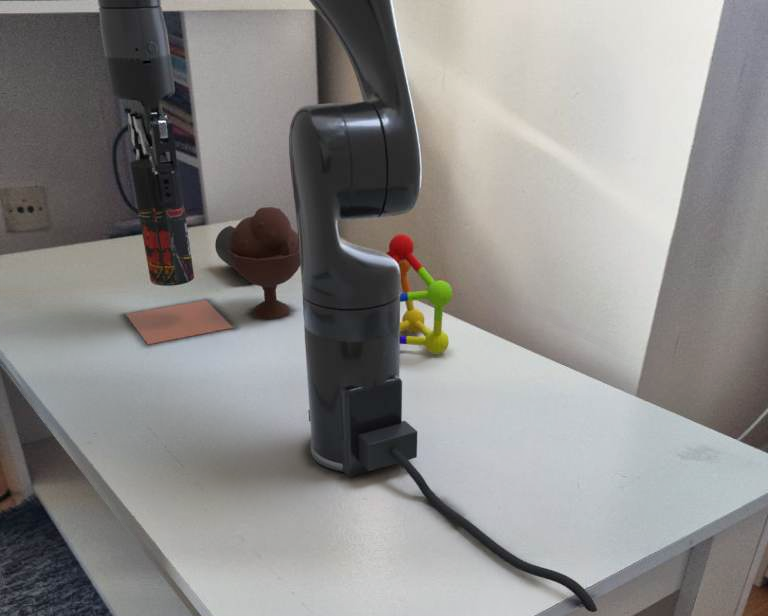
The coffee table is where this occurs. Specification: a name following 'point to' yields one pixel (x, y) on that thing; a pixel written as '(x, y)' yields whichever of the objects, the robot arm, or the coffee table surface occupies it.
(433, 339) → the educational toy
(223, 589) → the coffee table surface
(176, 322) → the tile
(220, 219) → the coffee table surface
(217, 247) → the end cap
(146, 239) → the deodorant
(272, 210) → the ice cream bowl
